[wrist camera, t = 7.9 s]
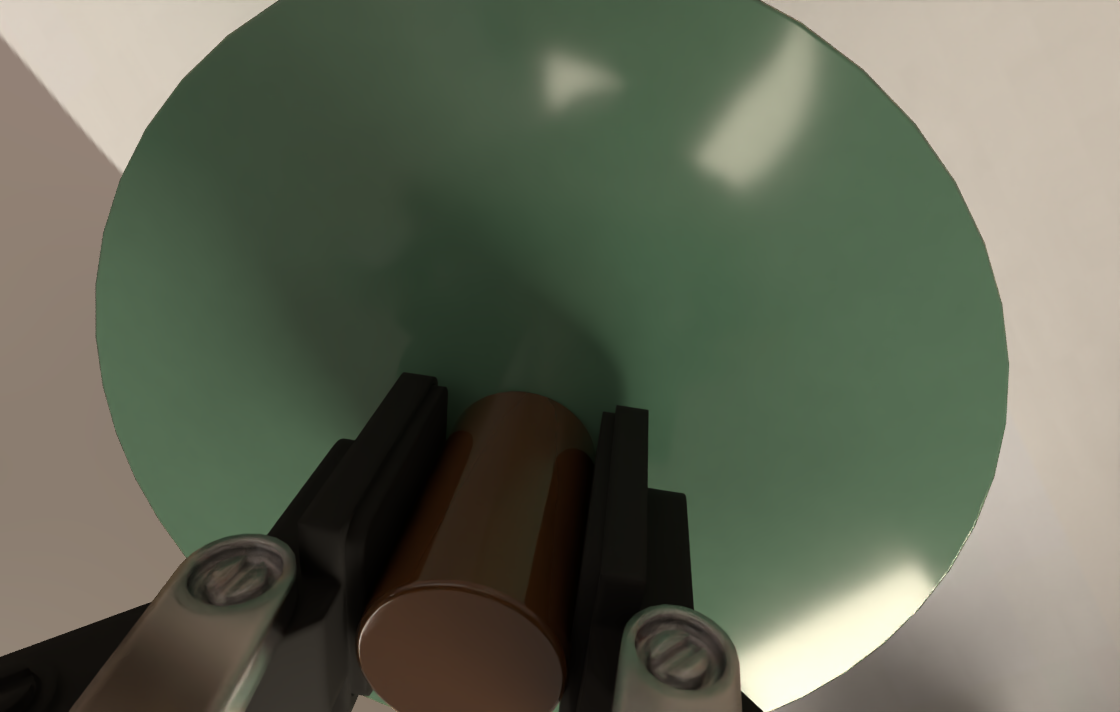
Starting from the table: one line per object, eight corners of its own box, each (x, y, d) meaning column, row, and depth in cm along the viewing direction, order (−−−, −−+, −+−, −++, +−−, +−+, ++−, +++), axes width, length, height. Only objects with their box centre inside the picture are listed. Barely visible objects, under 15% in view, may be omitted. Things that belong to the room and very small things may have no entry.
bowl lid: (53, -114, 10) (-522, -238, 5) (1162, 16, 9) (1760, 16, 4) (191, 640, 17) (2, 896, 12) (831, 756, 16) (910, 1084, 11)
